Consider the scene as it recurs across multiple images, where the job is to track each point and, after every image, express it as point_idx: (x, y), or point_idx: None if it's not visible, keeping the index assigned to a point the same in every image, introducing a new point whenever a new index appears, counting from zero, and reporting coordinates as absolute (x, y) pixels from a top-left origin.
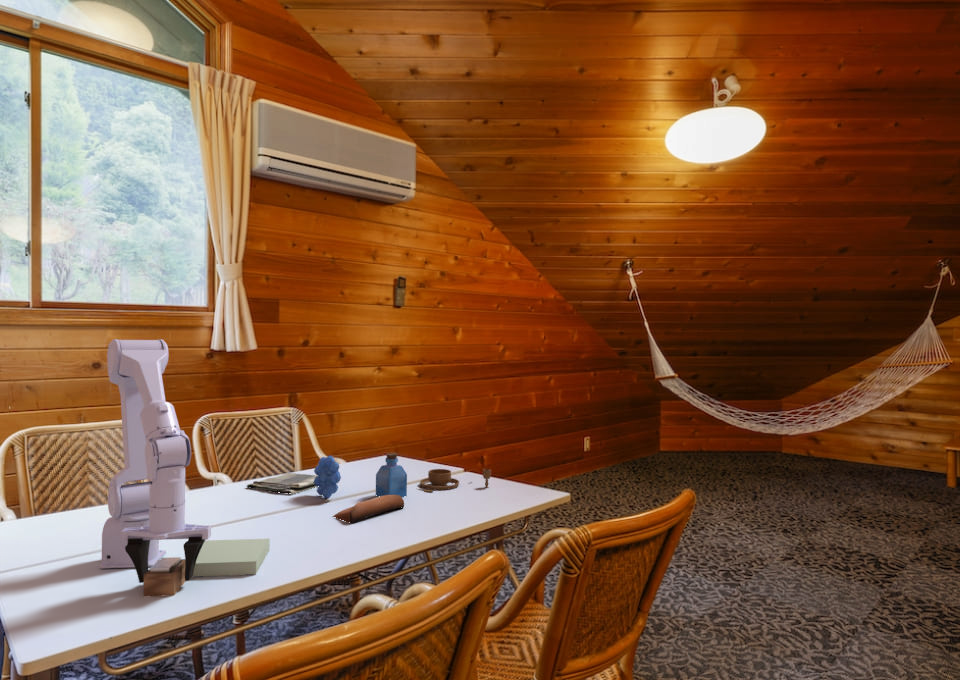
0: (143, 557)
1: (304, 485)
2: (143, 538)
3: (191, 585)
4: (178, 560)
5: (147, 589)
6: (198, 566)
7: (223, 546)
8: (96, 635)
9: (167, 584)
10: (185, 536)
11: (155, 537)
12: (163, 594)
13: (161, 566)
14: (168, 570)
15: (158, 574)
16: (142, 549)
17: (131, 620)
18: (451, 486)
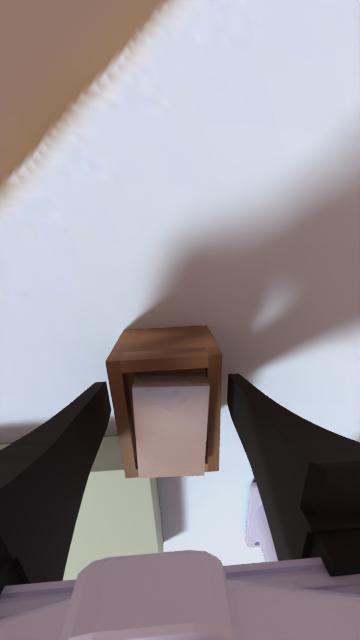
0: (261, 446)
1: None
2: (323, 574)
3: (107, 389)
4: (137, 458)
5: (198, 333)
6: (107, 461)
7: (93, 560)
8: (246, 6)
9: (138, 343)
10: (19, 612)
11: (188, 587)
12: (152, 329)
13: (172, 403)
14: (136, 381)
15: (165, 357)
16: (284, 480)
17: (173, 145)
18: None
